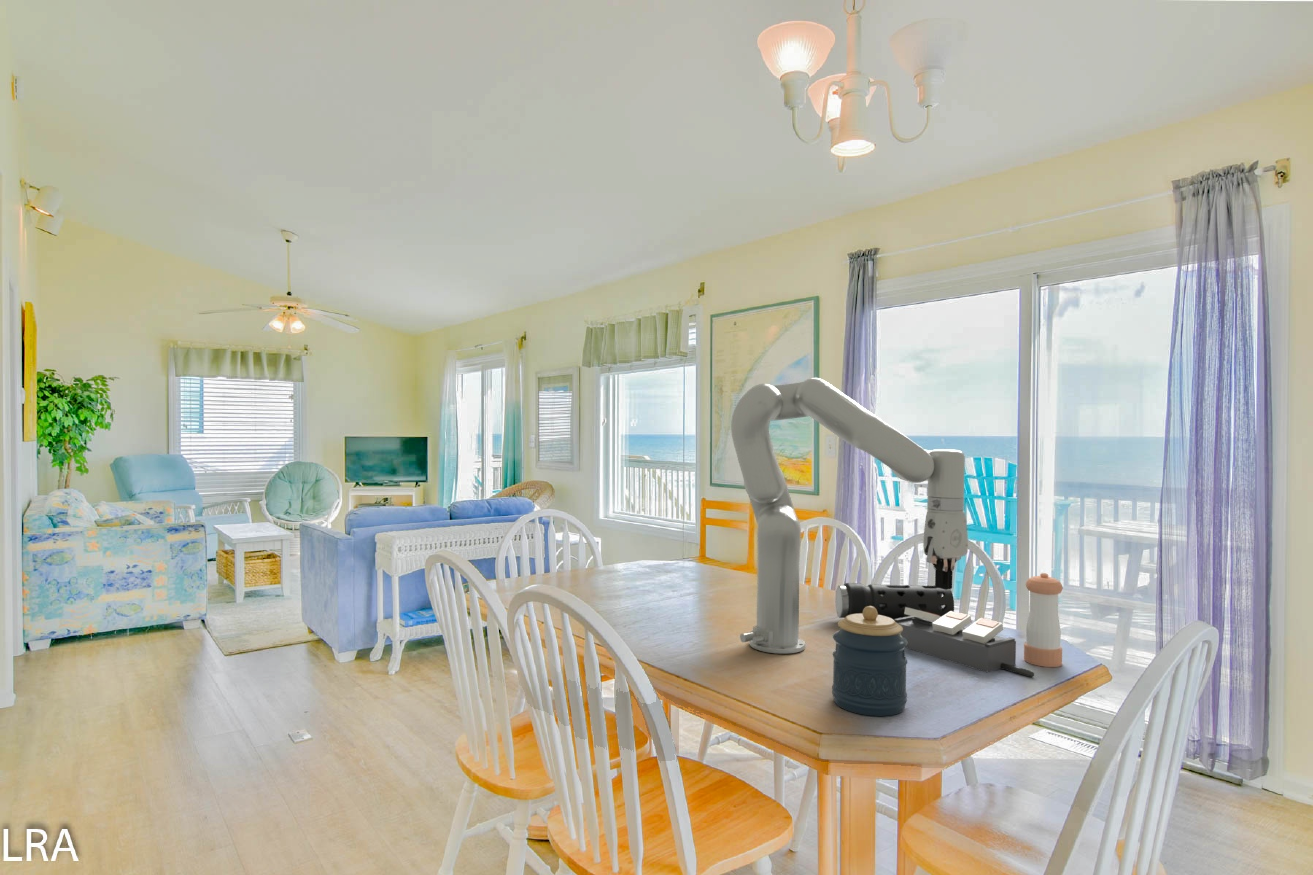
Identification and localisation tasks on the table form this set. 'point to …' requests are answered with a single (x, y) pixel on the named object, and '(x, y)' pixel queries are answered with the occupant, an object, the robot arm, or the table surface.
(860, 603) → the muzzle brake
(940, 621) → the rocker
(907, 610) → the bar
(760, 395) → the robot arm
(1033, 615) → the pepper shaker
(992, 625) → the rocker
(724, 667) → the table surface
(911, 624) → the strip
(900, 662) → the canister
